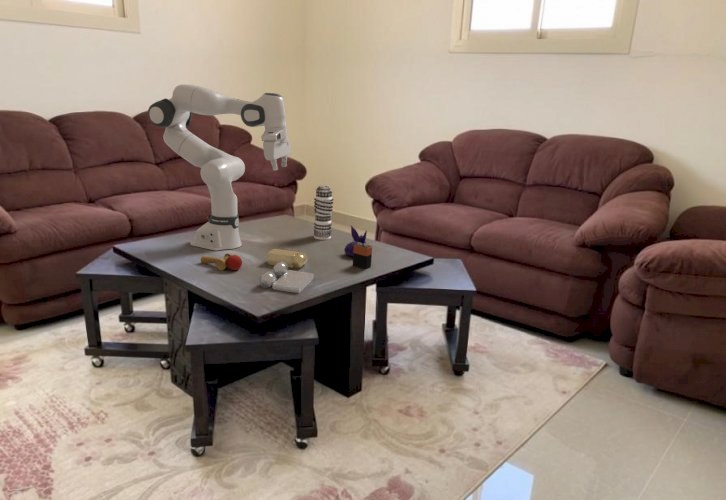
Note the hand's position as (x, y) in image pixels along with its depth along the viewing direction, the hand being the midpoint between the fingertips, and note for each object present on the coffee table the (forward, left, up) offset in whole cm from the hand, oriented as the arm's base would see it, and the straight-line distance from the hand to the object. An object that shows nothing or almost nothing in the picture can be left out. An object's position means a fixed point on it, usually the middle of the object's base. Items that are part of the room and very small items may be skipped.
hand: (280, 168), depth 216 cm
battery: (+37, -1, -37) cm, 53 cm away
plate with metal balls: (+16, -30, -37) cm, 51 cm away
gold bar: (+8, -11, -37) cm, 40 cm away
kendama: (-15, -24, -38) cm, 47 cm away
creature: (+31, +14, -38) cm, 51 cm away
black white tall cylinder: (+9, +32, -37) cm, 50 cm away
